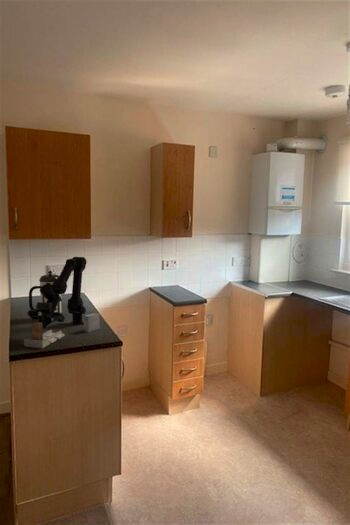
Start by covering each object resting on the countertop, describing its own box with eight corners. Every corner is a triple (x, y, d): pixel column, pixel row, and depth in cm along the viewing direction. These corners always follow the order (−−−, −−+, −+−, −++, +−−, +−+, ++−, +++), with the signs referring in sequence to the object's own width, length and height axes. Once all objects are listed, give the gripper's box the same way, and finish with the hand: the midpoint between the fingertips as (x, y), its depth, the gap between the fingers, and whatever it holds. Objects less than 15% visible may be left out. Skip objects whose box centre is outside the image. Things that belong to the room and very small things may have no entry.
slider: (35, 340, 190) (34, 322, 188) (43, 341, 188) (42, 322, 187) (30, 343, 186) (29, 324, 185) (38, 344, 185) (37, 325, 183)
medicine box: (95, 327, 217) (94, 312, 216) (100, 329, 214) (99, 314, 213) (83, 330, 211) (83, 315, 210) (88, 332, 208) (88, 317, 207)
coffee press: (51, 314, 245) (50, 268, 241) (69, 317, 237) (68, 270, 233) (29, 320, 230) (27, 271, 226) (47, 324, 222) (45, 273, 218)
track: (48, 334, 205) (47, 327, 204) (64, 335, 202) (64, 329, 202) (24, 346, 185) (23, 339, 185) (42, 348, 183) (41, 341, 182)
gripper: (28, 294, 194) (15, 321, 185) (61, 296, 189) (48, 324, 180) (38, 305, 203) (26, 332, 193) (69, 308, 198) (58, 335, 189)
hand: (39, 330), depth 189 cm, fingers closed, pressing on slider
